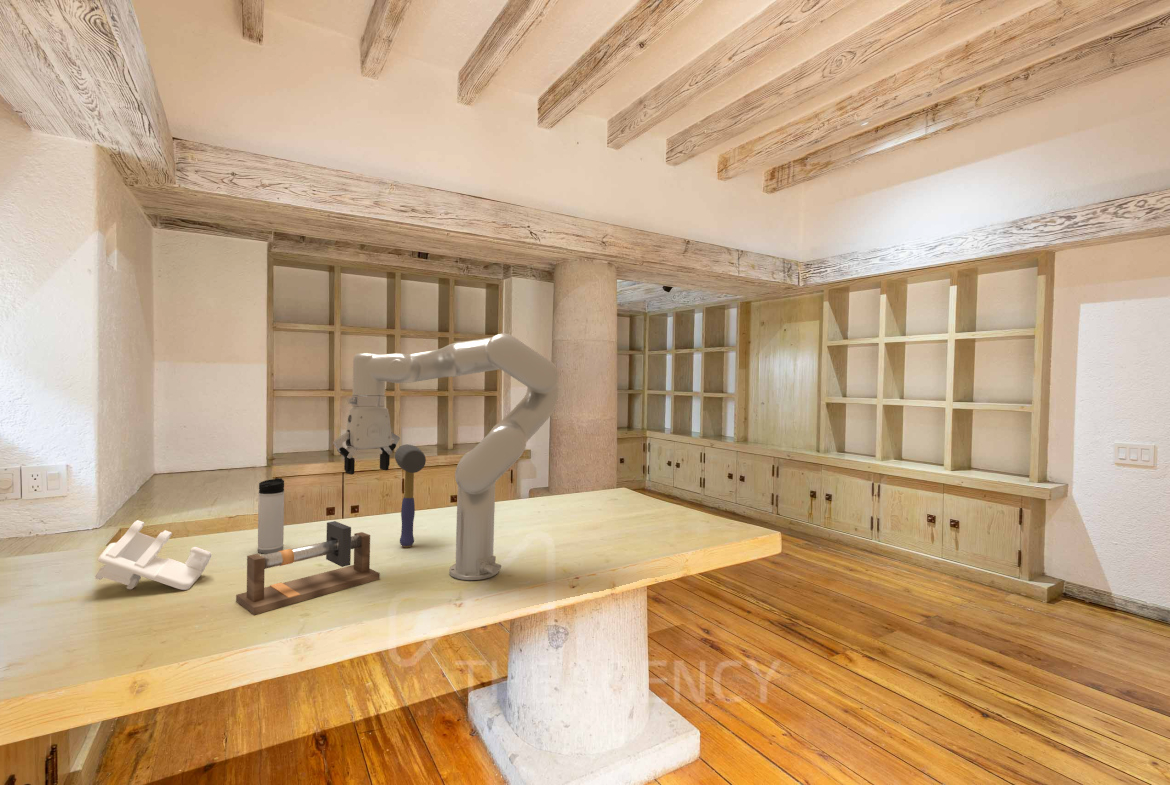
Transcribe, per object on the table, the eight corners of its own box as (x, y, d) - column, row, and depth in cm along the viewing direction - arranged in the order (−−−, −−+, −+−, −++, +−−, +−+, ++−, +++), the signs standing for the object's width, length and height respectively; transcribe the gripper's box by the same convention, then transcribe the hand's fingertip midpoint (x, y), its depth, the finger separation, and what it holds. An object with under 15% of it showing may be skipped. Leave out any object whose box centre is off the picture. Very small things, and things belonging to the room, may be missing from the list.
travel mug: (288, 547, 155) (290, 478, 155) (273, 554, 149) (274, 482, 148) (268, 546, 156) (269, 477, 156) (252, 553, 149) (253, 481, 149)
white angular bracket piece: (189, 595, 132) (218, 546, 134) (172, 614, 122) (205, 560, 123) (98, 565, 126) (131, 513, 128) (73, 582, 115) (108, 526, 117)
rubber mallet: (424, 551, 155) (428, 448, 155) (397, 554, 152) (401, 448, 151) (415, 539, 166) (419, 442, 165) (389, 542, 163) (393, 443, 162)
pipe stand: (358, 569, 139) (359, 528, 139) (379, 579, 133) (380, 536, 133) (236, 601, 117) (236, 553, 117) (253, 614, 111) (254, 563, 111)
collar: (334, 557, 133) (334, 521, 133) (350, 564, 128) (351, 527, 128) (326, 559, 131) (326, 522, 131) (342, 567, 126) (342, 528, 126)
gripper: (341, 403, 126) (340, 477, 126) (408, 402, 139) (406, 469, 139) (326, 402, 130) (325, 473, 131) (392, 401, 144) (390, 466, 144)
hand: (367, 471), depth 135 cm, fingers open, 8 cm apart
